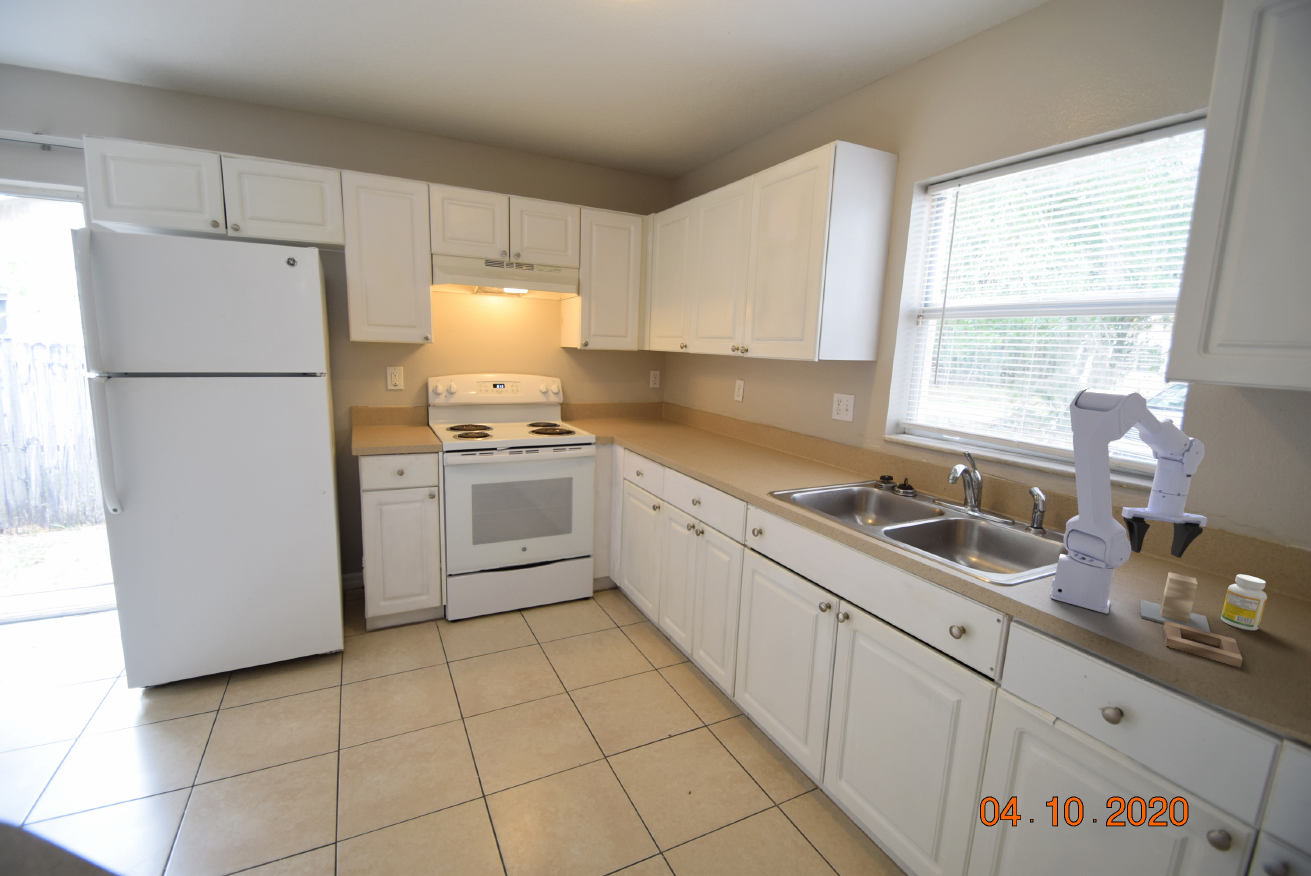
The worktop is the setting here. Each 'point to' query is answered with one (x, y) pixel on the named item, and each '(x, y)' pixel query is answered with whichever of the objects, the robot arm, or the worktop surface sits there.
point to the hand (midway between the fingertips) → (1155, 553)
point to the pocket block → (1224, 654)
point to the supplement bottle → (1244, 603)
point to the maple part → (1178, 597)
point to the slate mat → (1153, 613)
